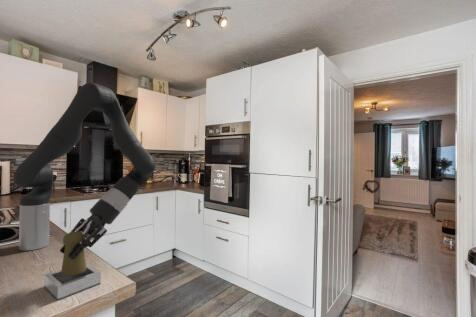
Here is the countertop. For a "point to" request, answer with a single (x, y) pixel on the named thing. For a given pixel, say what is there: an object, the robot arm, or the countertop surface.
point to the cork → (70, 265)
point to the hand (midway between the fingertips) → (66, 255)
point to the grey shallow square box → (71, 282)
